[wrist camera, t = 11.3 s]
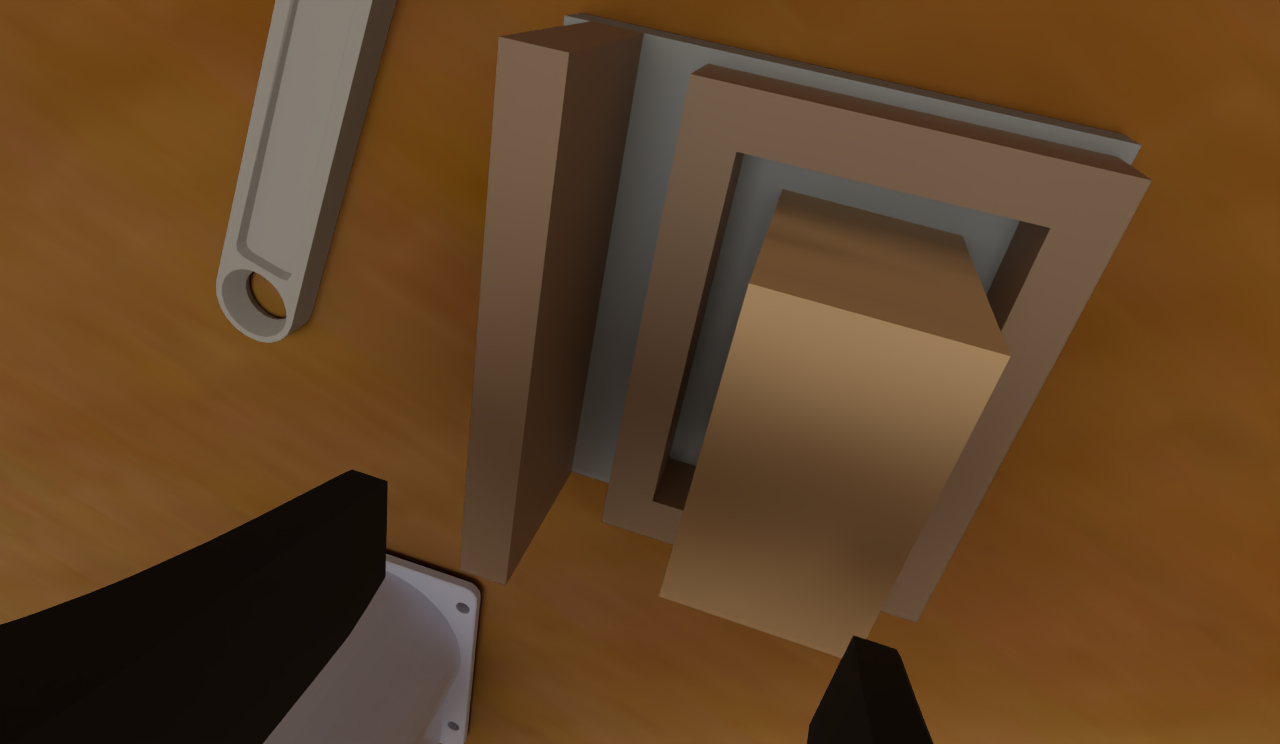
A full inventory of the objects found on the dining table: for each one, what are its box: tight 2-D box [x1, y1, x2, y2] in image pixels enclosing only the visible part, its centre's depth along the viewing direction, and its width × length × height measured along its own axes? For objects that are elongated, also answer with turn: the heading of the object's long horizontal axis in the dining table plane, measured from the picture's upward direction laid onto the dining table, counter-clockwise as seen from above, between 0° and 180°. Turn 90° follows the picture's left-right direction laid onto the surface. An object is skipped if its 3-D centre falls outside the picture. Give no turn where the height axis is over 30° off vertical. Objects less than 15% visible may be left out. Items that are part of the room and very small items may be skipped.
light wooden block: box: [659, 189, 1011, 658], centre depth 16 cm, size 7×4×6 cm, turn 169°
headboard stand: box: [459, 13, 1152, 623], centre depth 17 cm, size 12×12×6 cm
